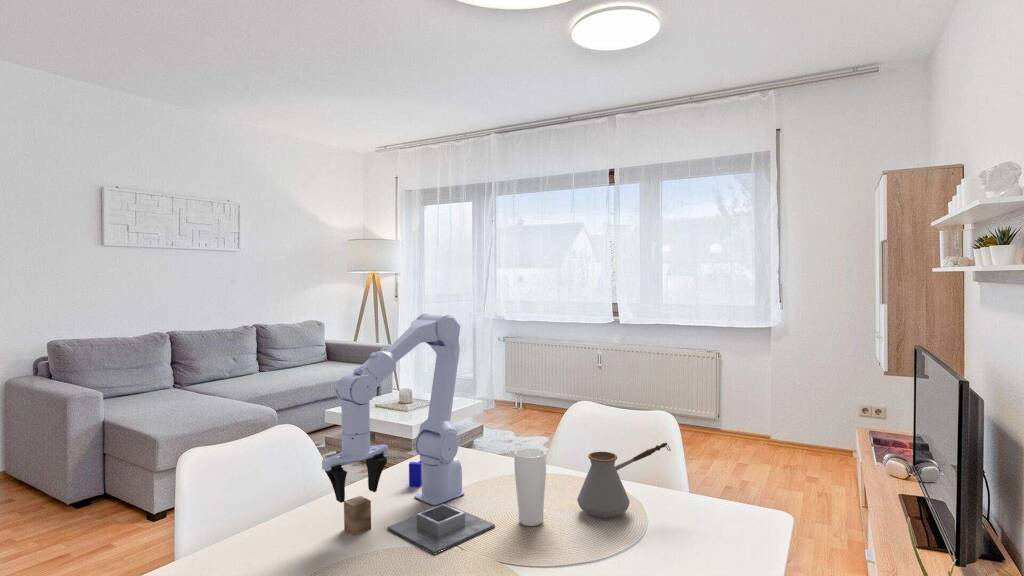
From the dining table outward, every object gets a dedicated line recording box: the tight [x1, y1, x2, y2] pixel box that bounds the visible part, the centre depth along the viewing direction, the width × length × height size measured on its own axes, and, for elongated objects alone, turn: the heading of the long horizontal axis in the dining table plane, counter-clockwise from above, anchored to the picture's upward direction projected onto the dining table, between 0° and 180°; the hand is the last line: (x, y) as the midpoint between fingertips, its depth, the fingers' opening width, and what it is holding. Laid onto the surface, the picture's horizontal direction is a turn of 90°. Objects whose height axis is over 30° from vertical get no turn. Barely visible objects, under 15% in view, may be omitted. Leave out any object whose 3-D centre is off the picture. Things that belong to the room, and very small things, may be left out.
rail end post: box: [343, 495, 372, 536], centre depth 117 cm, size 4×4×6 cm
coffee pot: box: [576, 442, 671, 521], centre depth 124 cm, size 21×12×15 cm, turn 98°
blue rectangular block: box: [408, 459, 422, 488], centre depth 147 cm, size 12×4×6 cm, turn 169°
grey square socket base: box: [386, 503, 496, 555], centre depth 117 cm, size 16×16×3 cm
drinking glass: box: [514, 447, 547, 527], centre depth 119 cm, size 7×7×15 cm
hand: (356, 495), depth 117 cm, fingers open, 7 cm apart
